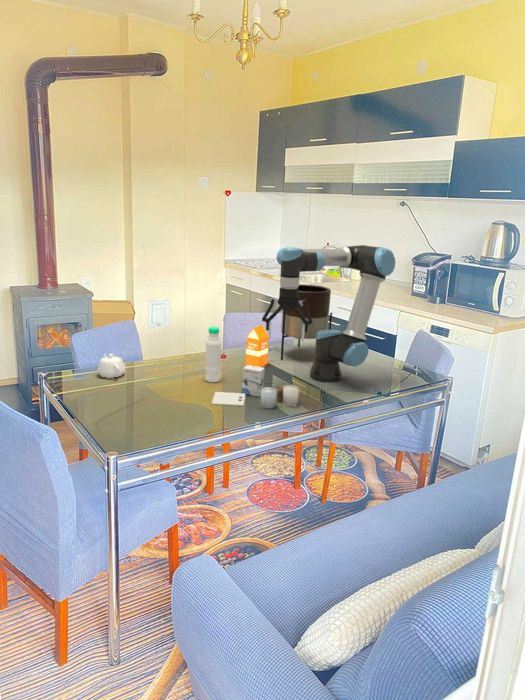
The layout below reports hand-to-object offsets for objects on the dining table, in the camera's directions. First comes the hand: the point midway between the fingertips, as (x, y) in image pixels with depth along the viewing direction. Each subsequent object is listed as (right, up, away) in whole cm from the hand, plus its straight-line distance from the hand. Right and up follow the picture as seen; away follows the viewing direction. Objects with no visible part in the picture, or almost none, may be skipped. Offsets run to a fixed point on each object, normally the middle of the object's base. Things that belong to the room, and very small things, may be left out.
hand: (286, 339), depth 208 cm
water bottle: (-32, -19, +27) cm, 46 cm away
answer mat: (-24, -25, +6) cm, 35 cm away
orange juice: (-13, -12, +53) cm, 56 cm away
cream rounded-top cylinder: (+2, -27, +5) cm, 27 cm away
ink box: (-14, -23, +14) cm, 31 cm away
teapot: (-79, -16, +28) cm, 86 cm away
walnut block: (-2, -25, +9) cm, 27 cm away
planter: (+12, -8, +71) cm, 72 cm away
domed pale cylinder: (-7, -27, +1) cm, 28 cm away
